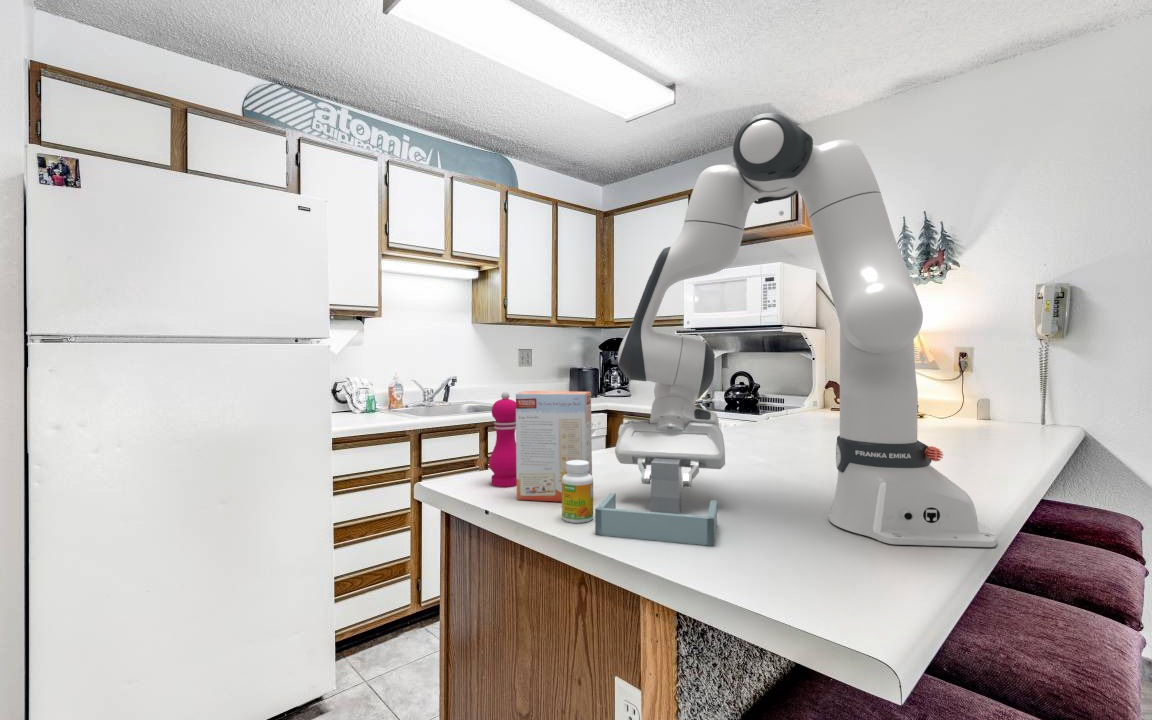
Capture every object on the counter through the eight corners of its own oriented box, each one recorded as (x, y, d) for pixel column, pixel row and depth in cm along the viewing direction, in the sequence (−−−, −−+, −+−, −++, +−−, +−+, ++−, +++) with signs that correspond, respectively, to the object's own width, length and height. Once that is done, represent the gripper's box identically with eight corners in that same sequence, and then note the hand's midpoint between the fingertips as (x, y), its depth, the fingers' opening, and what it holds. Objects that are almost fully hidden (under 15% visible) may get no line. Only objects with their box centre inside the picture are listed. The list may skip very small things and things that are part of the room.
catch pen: (716, 525, 88) (716, 500, 88) (714, 546, 79) (714, 519, 79) (610, 515, 94) (610, 492, 94) (595, 534, 84) (595, 509, 84)
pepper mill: (520, 488, 113) (519, 393, 113) (486, 487, 113) (485, 393, 113) (524, 479, 120) (524, 390, 120) (492, 479, 121) (491, 390, 120)
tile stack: (681, 507, 98) (681, 458, 98) (678, 515, 94) (678, 464, 94) (655, 505, 100) (655, 457, 100) (651, 513, 95) (651, 462, 95)
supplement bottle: (559, 522, 90) (558, 465, 90) (565, 513, 95) (564, 458, 95) (591, 524, 89) (590, 466, 89) (595, 514, 94) (595, 459, 94)
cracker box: (593, 496, 106) (592, 390, 106) (586, 504, 101) (586, 393, 100) (525, 492, 110) (524, 389, 109) (515, 500, 104) (514, 392, 103)
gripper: (618, 410, 106) (606, 470, 97) (725, 413, 100) (724, 477, 91) (622, 430, 111) (612, 489, 101) (726, 434, 105) (724, 497, 95)
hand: (666, 483), depth 96 cm, fingers open, 6 cm apart
